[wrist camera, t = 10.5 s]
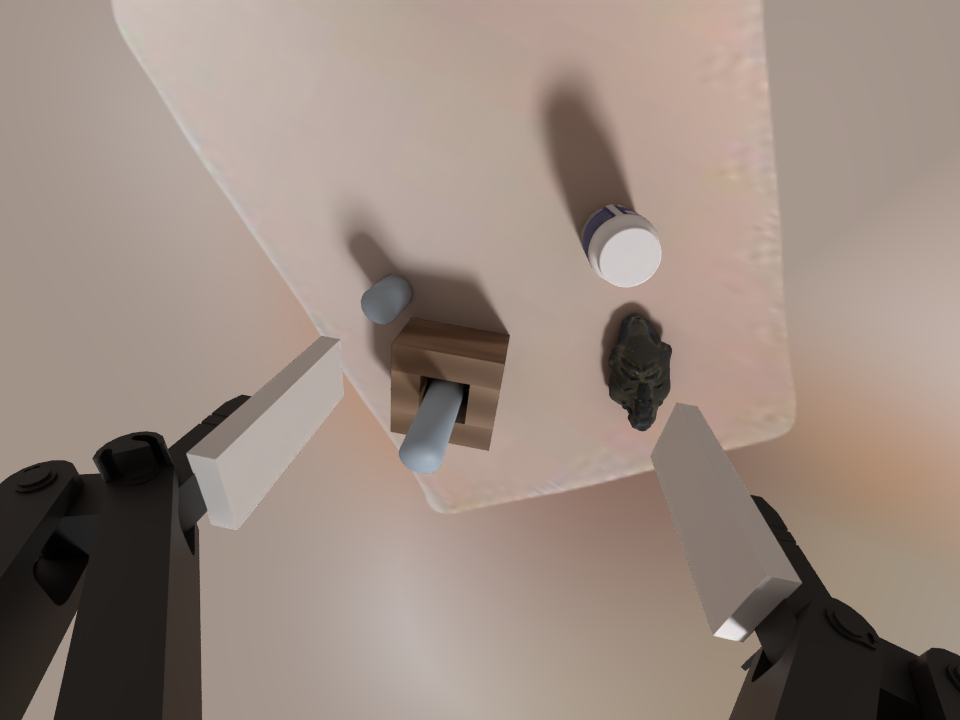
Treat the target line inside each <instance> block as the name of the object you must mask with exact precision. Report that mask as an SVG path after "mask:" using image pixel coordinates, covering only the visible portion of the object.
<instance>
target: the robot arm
mask: <svg viewBox="0 0 960 720" xmlns="http://www.w3.org/2000/svg"><path fill="white" fill-rule="evenodd" d="M343 396H344V392H343V376H342V360H341V344H340V339H335V338H330V337H324V336H321V337H320V338H319V339H318V340H317V341H315V342H314V343H313V344H312V345H311V346H310V347H308V348H307V349H306V350H305V351H304V352H303V353H301V354H300V355H299V356H298V357H297V358H296V359H295V360H293V361H292V362H291V363H290V364H289V365H288V366H286V367H285V368H284V369H283V370H282V371H281V372H280V373H278V374H277V375H276V376H275V377H274V378H273V379H272V380H270V381H269V382H268V383H267V384H266V385H264V386H263V387H262V388H261V389H260V390H259V391H258V392H256V393H255V394H254V395H253V396H247V395H240V396H238V397H237V398H234V399H232V400H230V401H227V402H226V403H224V404H223V405H222V406H220V407H219V408H218V409H217V410H215V411H214V412H213V413H212V415H209V416H208V417H207V418H206V419H204V420H203V421H202V423H201V424H198V425H197V426H196V427H195V428H193V429H192V430H191V431H190V432H188V433H187V434H186V435H185V436H183V437H182V438H181V439H180V440H178V441H177V442H176V443H175V444H174V445H172V446H171V447H170V448H169V449H168V448H167V446H166V443H165V441H164V438H163V436H161V435H160V434H158V433H155V432H146V431H145V432H136V433H131V434H128V435H124V436H121V437H118V438H116V439H114V440H112V441H111V442H108V443H106V444H105V445H104V446H103V447H101V448H100V449H99V450H98V451H97V452H96V454H95V455H94V457H93V461H94V463H95V464H96V466H97V468H98V470H99V472H100V474H83V475H79V473H78V472H77V470H76V468H75V467H74V465H73V464H72V463H70V462H67V461H64V460H56V461H55V460H52V461H48V462H42V463H38V464H35V465H32V466H29V467H27V468H24V469H22V470H20V471H18V472H17V473H15V474H13V475H11V476H9V477H8V478H7V479H5V480H4V481H3V482H2V483H1V484H0V720H21V719H22V717H23V715H24V714H25V712H26V710H27V708H28V706H29V704H30V702H31V700H32V698H33V696H34V694H35V692H36V690H37V688H38V686H39V684H40V682H41V680H42V678H43V676H44V674H45V672H46V670H47V668H48V666H49V664H50V663H51V661H52V658H53V656H54V655H55V653H56V651H57V649H58V647H59V645H60V643H61V641H62V639H63V637H64V635H65V633H66V631H67V629H68V627H69V625H70V623H71V621H72V619H73V617H74V616H75V614H76V612H77V615H76V620H75V625H74V629H73V634H72V638H71V643H70V648H69V652H68V657H67V661H66V666H65V670H64V675H63V679H62V684H61V688H60V693H59V698H58V702H57V707H56V711H55V716H54V720H202V695H201V694H202V691H201V638H200V637H201V636H200V635H201V631H200V571H199V529H198V526H197V521H198V520H199V519H200V518H201V517H202V516H203V515H204V514H205V513H206V512H207V513H208V516H209V519H210V522H211V524H212V525H215V526H219V527H224V528H228V529H233V530H238V529H239V528H240V526H241V525H242V524H243V523H244V521H245V520H246V519H247V518H248V516H249V515H250V514H251V513H252V511H253V510H254V509H255V507H256V506H257V505H258V504H259V502H260V501H261V500H262V499H263V497H264V496H265V495H266V494H267V492H268V491H269V490H270V489H271V487H272V486H273V485H274V483H275V482H276V481H277V480H278V478H279V477H280V476H281V475H282V473H283V472H284V471H285V470H286V468H287V467H288V466H289V464H290V463H291V462H292V461H293V459H294V458H295V457H296V455H297V454H298V453H299V452H300V451H301V449H302V448H303V447H304V445H305V444H306V443H307V442H308V440H309V439H310V438H311V437H312V435H313V434H314V433H315V432H316V430H317V429H318V428H319V427H320V425H321V424H322V423H323V421H324V420H325V419H326V418H327V416H328V415H329V414H330V413H331V411H332V410H333V409H334V407H335V406H336V405H337V404H338V402H339V401H340V400H341V399H342V397H343ZM651 459H652V462H653V465H654V468H655V470H656V473H657V476H658V479H659V482H660V485H661V488H662V491H663V493H664V496H665V499H666V502H667V505H668V508H669V511H670V513H671V516H672V519H673V522H674V525H675V527H676V531H677V534H678V536H679V539H680V542H681V545H682V548H683V551H684V554H685V557H686V560H687V562H688V565H689V568H690V571H691V574H692V576H693V580H694V583H695V585H696V588H697V591H698V594H699V597H700V600H701V602H702V606H703V608H704V611H705V614H706V617H707V620H708V623H709V626H710V628H711V631H712V634H713V636H717V637H722V638H726V639H731V640H735V641H740V642H744V641H745V640H746V639H747V638H748V637H749V636H750V635H751V634H752V633H753V631H755V632H756V634H757V636H758V638H759V641H760V643H761V645H762V647H761V648H760V649H759V650H758V651H757V652H756V653H754V654H753V655H752V656H751V657H750V658H749V659H748V660H747V661H746V662H745V663H744V664H743V665H742V666H741V667H742V668H743V669H744V670H745V671H746V670H747V669H748V668H749V667H750V668H749V671H748V673H747V676H746V678H745V681H744V683H743V686H742V688H741V691H740V693H739V696H738V698H737V701H736V703H735V706H734V708H733V711H732V713H731V716H730V718H729V720H960V656H959V655H957V654H955V653H952V652H950V651H947V650H945V649H941V648H931V649H929V650H928V651H926V652H925V653H923V654H922V655H920V656H917V655H915V654H913V653H911V652H909V651H907V650H905V649H903V648H901V647H899V646H896V645H894V644H892V643H890V642H888V641H886V640H884V639H882V638H880V637H878V635H877V633H876V631H875V630H874V629H873V627H872V626H871V625H870V624H869V623H868V622H867V621H866V620H865V619H864V618H863V617H862V616H861V615H860V614H859V613H857V612H856V611H855V610H853V609H852V608H851V607H850V606H848V605H846V604H845V603H843V602H841V601H839V600H837V599H835V598H832V597H831V596H830V594H829V593H828V591H827V590H826V588H825V586H824V585H823V583H822V582H821V580H820V578H819V577H818V575H817V574H816V572H815V571H814V569H813V568H812V566H811V564H810V563H809V561H808V560H807V558H806V557H805V555H804V554H803V552H802V550H801V549H800V548H799V546H798V545H796V541H795V539H794V538H793V536H792V535H791V533H790V532H788V531H787V527H786V525H785V524H784V522H783V521H782V519H781V517H780V516H779V515H778V513H777V512H776V511H775V510H774V509H773V508H772V507H771V506H770V505H769V504H768V503H767V502H766V501H765V500H764V499H763V498H762V497H759V496H754V495H750V494H749V493H748V491H747V489H746V487H745V486H744V484H743V483H742V481H741V479H740V477H739V476H738V474H737V472H736V471H735V469H734V468H733V466H732V464H731V462H730V461H729V459H728V457H727V455H726V454H725V452H724V450H723V449H722V447H721V445H720V444H719V442H718V440H717V439H716V437H715V435H714V434H713V432H712V430H711V428H710V427H709V425H708V423H707V422H706V420H705V418H704V417H703V415H702V413H701V412H700V410H699V408H698V407H697V406H692V405H687V404H681V403H676V405H675V407H674V409H673V411H672V413H671V415H670V417H669V419H668V421H667V423H666V425H665V428H664V430H663V432H662V434H661V436H660V438H659V440H658V442H657V444H656V446H655V448H654V450H653V452H652V454H651ZM77 610H78V611H77Z"/></svg>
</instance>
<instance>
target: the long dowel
mask: <svg viewBox="0 0 960 720" xmlns="http://www.w3.org/2000/svg"><path fill="white" fill-rule="evenodd" d="M466 386H467V384H463V383H458V382H453V381H447V380H442V379H437V378H433V380H432V382H431V385H430V387H429V389H428V391H427V393H426V395H425V397H424V399H423V401H422V403H421V406H420V408H419V410H418V412H417V414H416V416H415V418H414V420H413V422H412V424H411V426H410V429H409V431H408V433H407V435H406V437H405V439H404V441H403V443H402V445H401V447H400V450H399V456H400V459H401V461H402V462H403V464H404V465H405V466H406V467H407V468H409V469H410V470H412V471H415V472H418V473H431V472H434V471H436V470H437V469H438V468H439V467H440V466H441V463H442V460H443V457H444V454H445V451H446V448H447V445H448V441H449V438H450V435H451V432H452V429H453V426H454V423H455V420H456V417H457V413H458V410H459V407H460V404H461V401H462V398H463V395H464V392H465V389H466Z"/></svg>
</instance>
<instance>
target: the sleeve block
mask: <svg viewBox="0 0 960 720" xmlns="http://www.w3.org/2000/svg"><path fill="white" fill-rule="evenodd" d="M509 337H510V335H505V334H499V333H493V332H488V331H482V330H477V329H471V328H465V327H460V326H454V325H448V324H443V323H437V322H431V321H426V320H420V319H414V318H411V319H410V321H409V322H408V323H407V324H406V326H405V327H404V328H403V330H402V331H401V332H400V334H399V335H398V336H397V337H396V339H395V340H394V341H393V343H392V353H391V432H395V433H400V434H405V435H407V433H408V431H409V429H410V426H411V424H412V422H413V420H414V418H415V416H416V414H417V412H418V410H419V408H420V406H421V403H422V401H423V399H424V397H425V395H426V393H427V391H428V389H429V387H430V385H431V382H432V380H433V378H437V379H442V380H447V381H453V382H458V383H463V384H469V385H470V390H468V389H465V392H464V395H463V398H462V401H461V404H460V407H459V410H458V413H457V417H456V420H455V423H454V426H453V429H452V432H451V435H450V438H449V441H448V443H451V444H456V445H461V446H467V447H472V448H477V449H482V450H487V451H489V447H490V442H491V436H492V431H493V426H494V420H495V415H496V409H497V404H498V399H499V393H500V388H501V382H502V377H503V372H504V366H505V361H506V355H507V349H508V343H509Z"/></svg>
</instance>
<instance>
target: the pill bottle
mask: <svg viewBox="0 0 960 720" xmlns="http://www.w3.org/2000/svg"><path fill="white" fill-rule="evenodd" d="M581 243H582V247H583V250H584V252H585V254H586V256H587V258H588V260H589V263H590V265H591V267H592V268H593V270H594V271H595V272H596V274H597V275H599V276H600V277H601V278H603V279H605V280H607V281H608V282H610V283H611V284H613V285H616V286H619V287H632V286H636V285H639V284H641V283H643V282H645V281H646V280H647V279H649V278H650V277H651V276H652V275H653V274H654V272H655V271H656V270H657V268H658V266H659V264H660V261H661V256H662V251H661V245H660V243H659V239H658V235H657V232H656V230H655V228H654V226H653V225H652V224H651V223H650V222H649V221H648V220H647V219H645V218H644V217H642V216H641V215H639V214H638V213H636V212H635V211H633V210H632V209H630V208H628V207H626V206H623V205H619V204H611V205H606V206H603V207H601V208H599V209H597V210H596V211H594V212H593V213H592V214H591V215H590V216H589V217H588V218H587V220H586V222H585V223H584V226H583V228H582V232H581Z"/></svg>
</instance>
